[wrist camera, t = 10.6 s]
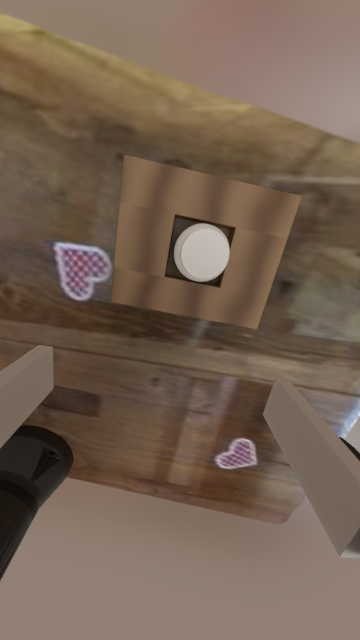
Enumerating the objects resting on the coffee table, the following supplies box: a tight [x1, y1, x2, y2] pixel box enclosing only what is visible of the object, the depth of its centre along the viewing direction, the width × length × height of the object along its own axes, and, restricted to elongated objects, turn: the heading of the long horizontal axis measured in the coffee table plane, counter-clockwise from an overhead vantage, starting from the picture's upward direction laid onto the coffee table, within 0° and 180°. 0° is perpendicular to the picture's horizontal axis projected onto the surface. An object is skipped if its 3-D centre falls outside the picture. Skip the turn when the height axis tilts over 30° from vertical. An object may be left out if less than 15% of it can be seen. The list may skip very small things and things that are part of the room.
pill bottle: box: [174, 223, 230, 282], centre depth 25 cm, size 6×6×11 cm
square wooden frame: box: [111, 155, 302, 329], centre depth 29 cm, size 22×18×2 cm
